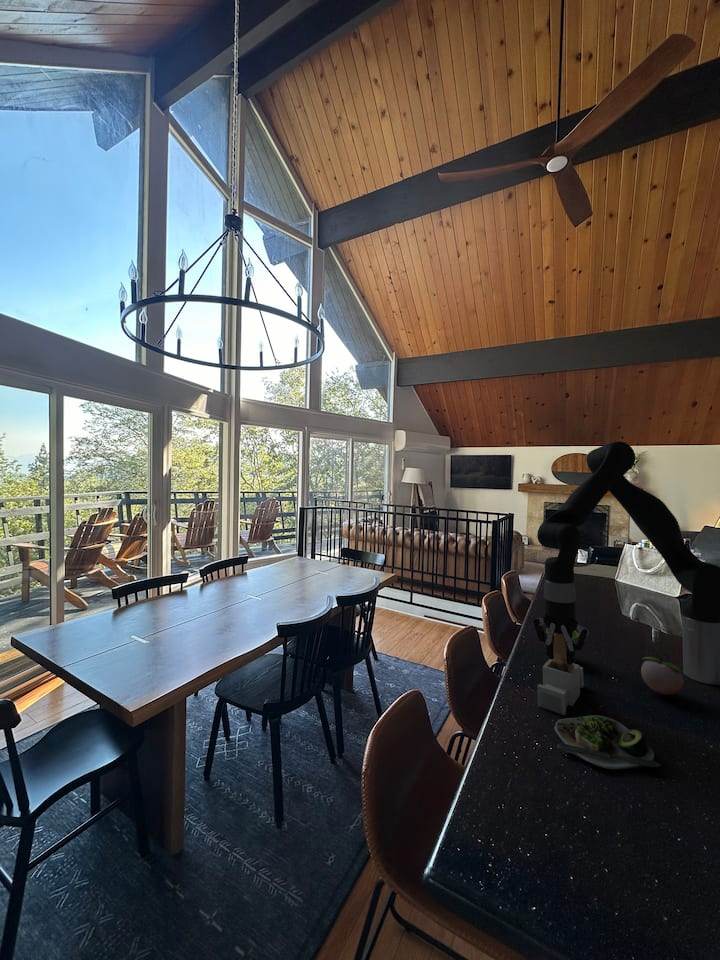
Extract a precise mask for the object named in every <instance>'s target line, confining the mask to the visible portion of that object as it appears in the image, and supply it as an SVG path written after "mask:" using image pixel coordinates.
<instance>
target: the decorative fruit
mask: <svg viewBox="0 0 720 960" xmlns="http://www.w3.org/2000/svg"><path fill="white" fill-rule="evenodd" d="M659 658H660V659H658V658H656V657H652V656H645V657H643V658H641V659H642V660H645V661H644V662H643V663H642V664H641V668H640V672H641V673H640V674H641V678H642V680H643V681H644V683H645V684H646V686H647V687H648V688H650V689H651V690H653V691H655V692H656V693H658V694H660V695H661V696H663V695H667V696H669V695H674V694H677V693H678V692H679V691H680V690H682V688H683V686H684V684H685V683H684V682H685V680H684V676H683V674H684V673H683V670H681V669H680V668H679V667H678V666H676V664H673V663H671V662H668V661H667V662H666V661H663V658H662V656H661V657H659Z"/></svg>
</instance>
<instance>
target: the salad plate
mask: <svg viewBox="0 0 720 960" xmlns="http://www.w3.org/2000/svg"><path fill="white" fill-rule="evenodd" d="M553 729H554V732H555V733H556V734H557V736H558V738H559V739H560V740H561V741H562V742H559V743H557V748H558V750H560V751H563V752H567V753H570V754H572V755H574V756H575V757H577V758H580V759H582V760H584V761H585V762H587V763H590V764H592V765H593V766H597V767H599V768H601V769H607V770H623V769H624V770H625V769H626V770H627V769H640V768H658V767H661V766H662V764H661V763H659V762H657V761H655V757H656V755H655V752H654V750H653V749H652V747H650V745H649V744H648V743H647V742H646V741H647V740H646V738H645V736H644V734H643V733H642V732H641V731H640V730H638V729H632V728H631V729H629V728H628V727H626V725H624V724H622V723H621V722H619V721H618V720H615V719H613V718H610V717H607V716H604V715H595V714H594V715H593V714H592V715H585V716H577V717H565V718H562V719H558V720H557V721H556V723H555V726H554V727H553ZM574 730H575V731H574ZM573 731H574V734H575V735H574V736H575V738H572V736H570V735H571V733H572V732H573Z"/></svg>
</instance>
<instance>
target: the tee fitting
mask: <svg viewBox="0 0 720 960" xmlns="http://www.w3.org/2000/svg"><path fill="white" fill-rule="evenodd" d="M536 687H537V690H536V691H537V707H540V708H543V709H545V710H549V711H551V712H554V713H556V714H557V713H558V714H559V715H563V716H566V714H567V707H568V706H570V707H573V706H574V705H575V703H576V701H577V700H578V699H579V697H580V695H581V689H583V688H584V667H582V666H580V664H576V663H575V662H574V663H573V664H572V665H570V673H567V672H564V671H560V670H557V669H553V659H552V660H551V659H549V658H548V660H547V661H546V662H545V663H544V664H543V666H542V684H540V683H539V684H537V686H536Z"/></svg>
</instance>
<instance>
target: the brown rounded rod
mask: <svg viewBox="0 0 720 960" xmlns="http://www.w3.org/2000/svg"><path fill="white" fill-rule="evenodd" d="M552 641H553V669H557V670H560V671H564V672H567V673H570V664H568V650H569V648H568V645H567V642H566V641H565V638H564V635H563V634H562V633H558V632H554V633H553V638H552Z"/></svg>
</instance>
